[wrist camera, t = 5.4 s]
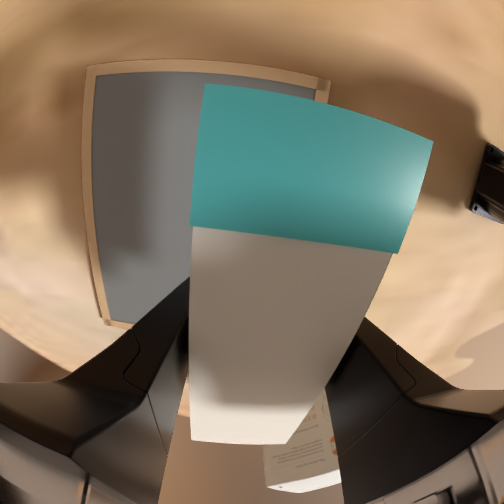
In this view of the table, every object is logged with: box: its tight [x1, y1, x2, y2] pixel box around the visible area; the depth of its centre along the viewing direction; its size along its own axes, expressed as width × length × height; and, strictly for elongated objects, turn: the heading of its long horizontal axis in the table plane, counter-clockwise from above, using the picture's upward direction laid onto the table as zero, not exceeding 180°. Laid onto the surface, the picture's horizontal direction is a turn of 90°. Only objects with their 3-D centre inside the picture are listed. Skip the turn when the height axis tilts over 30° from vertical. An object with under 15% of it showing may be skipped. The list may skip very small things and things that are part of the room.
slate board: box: [81, 59, 331, 329], centre depth 18 cm, size 15×21×1 cm
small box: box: [263, 387, 341, 493], centre depth 21 cm, size 8×6×13 cm
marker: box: [189, 83, 434, 444], centre depth 9 cm, size 4×14×4 cm, turn 171°
